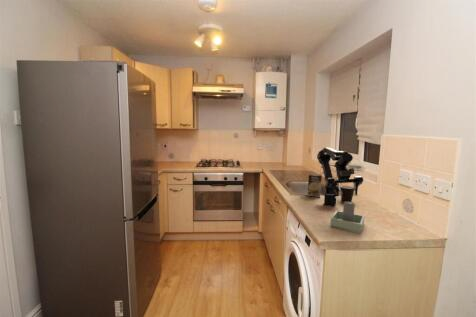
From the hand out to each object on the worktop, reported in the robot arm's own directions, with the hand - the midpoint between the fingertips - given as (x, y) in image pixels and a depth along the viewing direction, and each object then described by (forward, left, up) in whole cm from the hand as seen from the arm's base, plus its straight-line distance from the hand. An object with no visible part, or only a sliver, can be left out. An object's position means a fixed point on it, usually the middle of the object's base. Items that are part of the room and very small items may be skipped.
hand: (347, 195), depth 126 cm
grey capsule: (+2, -10, -12) cm, 16 cm away
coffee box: (-27, +35, -13) cm, 46 cm away
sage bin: (+2, -9, -13) cm, 16 cm away
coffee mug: (-5, +37, -13) cm, 39 cm away
